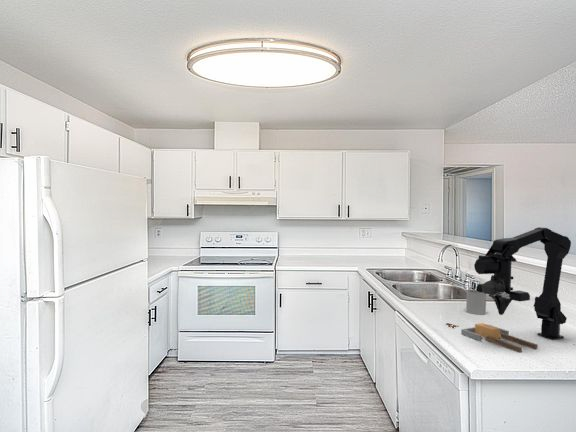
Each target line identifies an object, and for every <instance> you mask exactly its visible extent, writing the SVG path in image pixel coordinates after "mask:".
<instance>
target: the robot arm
mask: <svg viewBox="0 0 576 432" xmlns="http://www.w3.org/2000/svg"><path fill="white" fill-rule="evenodd" d="M536 242H540V243H542V244H543V245H544V246H543V247H544V252H545V254H546V256H547V260H546V265H545V266H546V267H545V272H544V280H543V286H542V291H541V292H542V293H541V294H540V295H539V296H535V297H534V304H533V309H534V312H535V315H536V318H537V319H540V320H541V328H540V331H541V332H538V333H537V335H538V336H541V337H544V338H548V339H550V340H557V339H562V338H563V339H564V337H565V336H564V335H561V325H563V324H566V322H567V320H568V318H567V316H566V315H565V314H564V313H563V311H561V309H562V308H561V306H562V305H561V304H562V303H561V302H560V299H559V297H558V292H559V286H560V279H561V273H562V267H563V261H564V259H565V257H566V256H568V254H569V252H570V250H571V245H572V241H571V240H570V238H569V237H568V236H565V235H562V234H560V233H558V232H555V231H553V230H551V229H550V228H547V227H536V228H534V229H532V230H528V231H526V232H523V233H521V234H519V235H516V236H514V237H506V238H497V239H495V240H493V241H492V244H491V246H490V247H489V248H488V251H487V252H486V253H485V255H478V258H477V259H476V261H475V262H474V265H473V266H474V270H475V273H477V274H478V275H491V274H492V275H491V277H490V279H489V280H487V281H486V282H484V283H478V284H477V285H476V287H475V288H476V289H475V290H476V291H478V292H483V293H484V294H486V295H488V297H490V298H492V299H493V301H494V303H495V306H496V309H497V311H498V315H500V316H503V315H504V314H505V311H506V310H507V309H508V307H509V305H510V304H511V302H512V301H516V302H526V301H530V300H531V295H530V293H529V292H527V291H524V290H514V287H512V284H511V283H512V280H514V276H513V275H512V262H517V259H516V258H515V257H514V255H515V254H516V253H518V252H519V250H520V249H522V248H524V247H527V246H529V245H532V244H534V243H536Z"/></svg>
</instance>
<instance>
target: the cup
mask: <svg viewBox="0 0 576 432" xmlns="http://www.w3.org/2000/svg"><path fill="white" fill-rule="evenodd" d="M486 308H487V294H484V293H483V292H478V291H476V289H467V290H466V307H465V311H466V313H468V314H470V315H475V316H477V315H478V316H481V315H482V316H483V315H486V313H487V311H486V310H487V309H486Z"/></svg>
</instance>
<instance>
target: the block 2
mask: <svg viewBox="0 0 576 432" xmlns="http://www.w3.org/2000/svg"><path fill="white" fill-rule="evenodd" d="M497 327H498V326H495V327H494V325H492V326H486V327H484V337H483V338H485V336H490V337H493V338H496V339H499V340H501V339H500V338H501V337H500V336H501V334H500V328H501V327H498V328H497Z"/></svg>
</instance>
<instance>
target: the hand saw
mask: <svg viewBox="0 0 576 432" xmlns="http://www.w3.org/2000/svg"><path fill="white" fill-rule="evenodd" d="M447 325H448V326H447ZM452 325H453V326H452ZM445 326H447V328H451V327H452V328H451V329H455V328H457V327H458V328H459V327H460V326H459V325H455V324H452V323H448V322H446V323H445ZM454 327H455V328H454Z"/></svg>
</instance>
